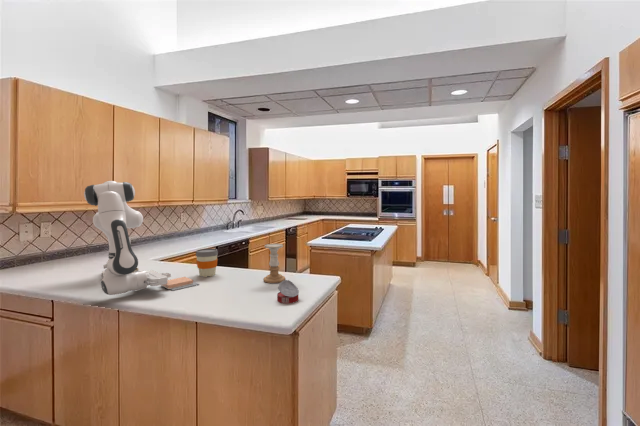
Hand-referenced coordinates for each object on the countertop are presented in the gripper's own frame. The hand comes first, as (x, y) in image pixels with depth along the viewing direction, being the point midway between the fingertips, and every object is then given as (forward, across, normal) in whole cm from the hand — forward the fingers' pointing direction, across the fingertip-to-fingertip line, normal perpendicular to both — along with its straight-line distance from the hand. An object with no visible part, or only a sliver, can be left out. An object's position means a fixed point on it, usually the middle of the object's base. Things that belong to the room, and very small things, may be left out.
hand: (169, 274), depth 167 cm
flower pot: (-14, +19, +7) cm, 24 cm away
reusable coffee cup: (+25, +8, +7) cm, 27 cm away
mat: (+5, 0, +6) cm, 8 cm away
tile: (-3, 0, +5) cm, 6 cm away
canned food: (+29, -61, +7) cm, 68 cm away
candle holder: (+45, -31, +7) cm, 55 cm away
